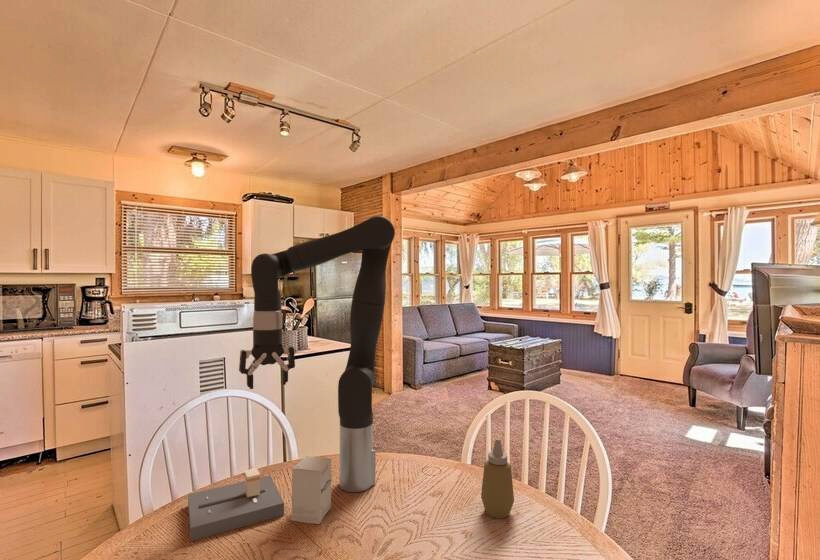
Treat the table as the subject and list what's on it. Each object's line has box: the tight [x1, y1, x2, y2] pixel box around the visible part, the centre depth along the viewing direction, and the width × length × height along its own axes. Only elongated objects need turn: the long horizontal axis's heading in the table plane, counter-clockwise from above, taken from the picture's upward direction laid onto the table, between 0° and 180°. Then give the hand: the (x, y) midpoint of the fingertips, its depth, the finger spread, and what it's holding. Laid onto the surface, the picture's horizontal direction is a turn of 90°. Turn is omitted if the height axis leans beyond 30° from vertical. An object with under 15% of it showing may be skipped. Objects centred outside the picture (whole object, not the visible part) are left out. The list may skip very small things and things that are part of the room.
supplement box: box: [291, 455, 332, 525], centre depth 99 cm, size 7×7×13 cm
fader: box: [243, 467, 261, 497], centre depth 103 cm, size 3×4×5 cm
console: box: [187, 475, 285, 542], centre depth 101 cm, size 20×16×3 cm
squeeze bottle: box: [480, 438, 515, 519], centre depth 101 cm, size 8×8×18 cm
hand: (267, 386), depth 111 cm, fingers open, 8 cm apart
